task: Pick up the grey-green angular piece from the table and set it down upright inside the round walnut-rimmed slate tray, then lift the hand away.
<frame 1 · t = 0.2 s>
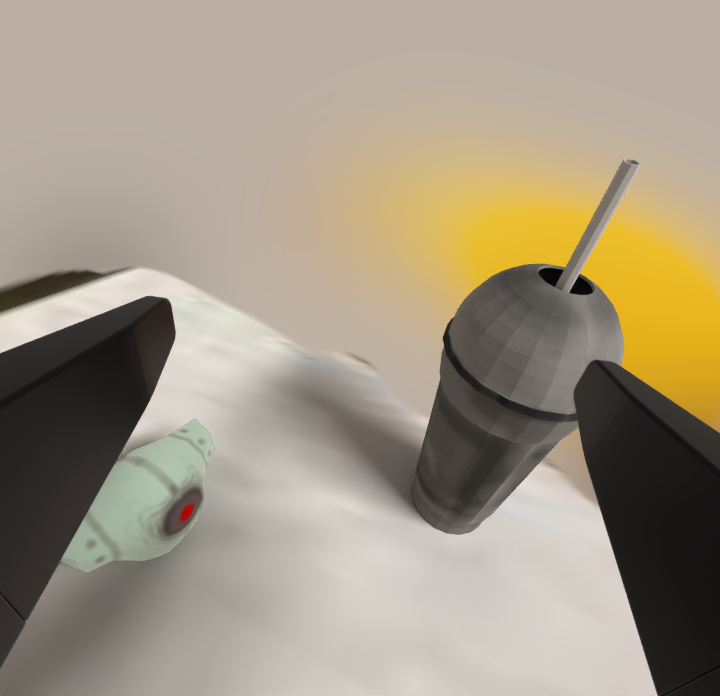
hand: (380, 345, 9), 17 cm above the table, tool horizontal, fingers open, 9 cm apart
grey-green angular piece: (165, 544, 22), on the table
beverage cup: (447, 500, 26), on the table
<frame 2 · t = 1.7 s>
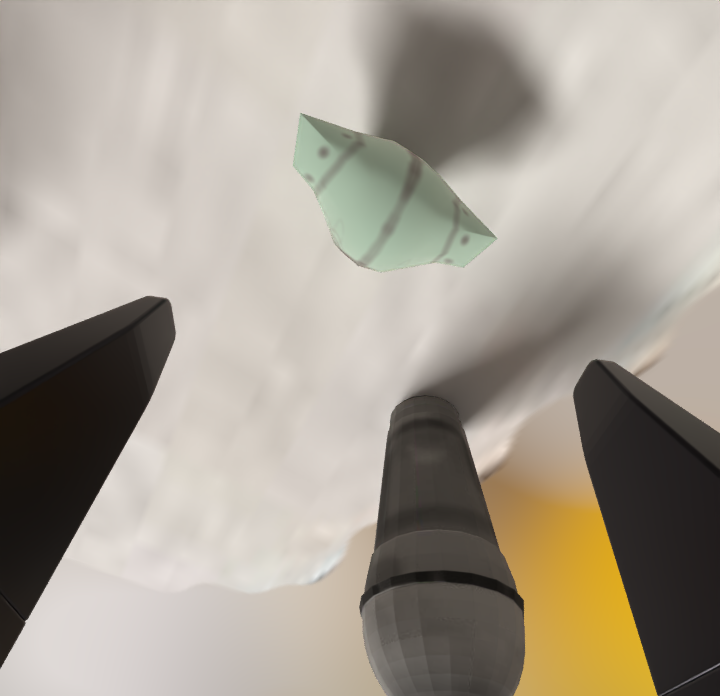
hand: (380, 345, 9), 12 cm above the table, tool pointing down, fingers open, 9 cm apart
grey-green angular piece: (386, 175, 19), on the table
beverage cup: (424, 418, 28), on the table
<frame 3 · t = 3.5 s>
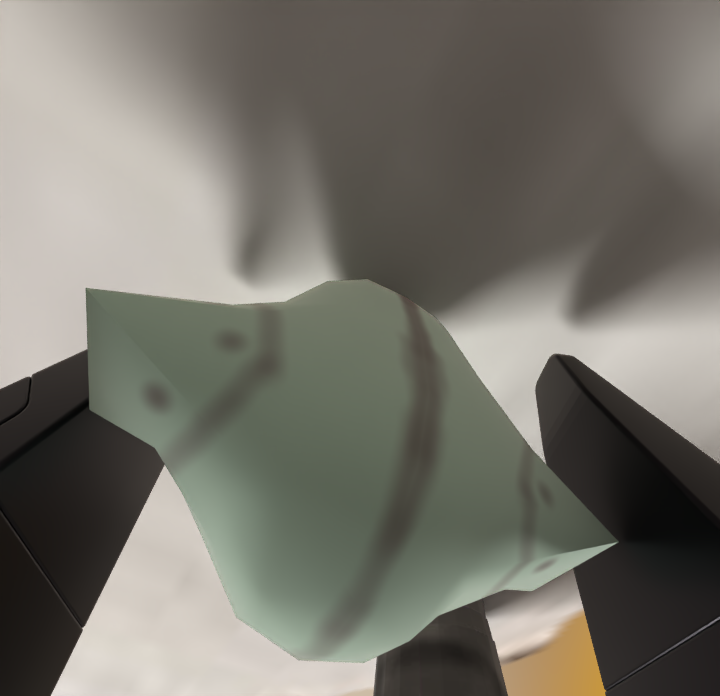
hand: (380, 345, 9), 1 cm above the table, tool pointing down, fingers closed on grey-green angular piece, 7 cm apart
grey-green angular piece: (370, 312, 10), on the table, touching gripper
beverage cup: (432, 602, 20), on the table
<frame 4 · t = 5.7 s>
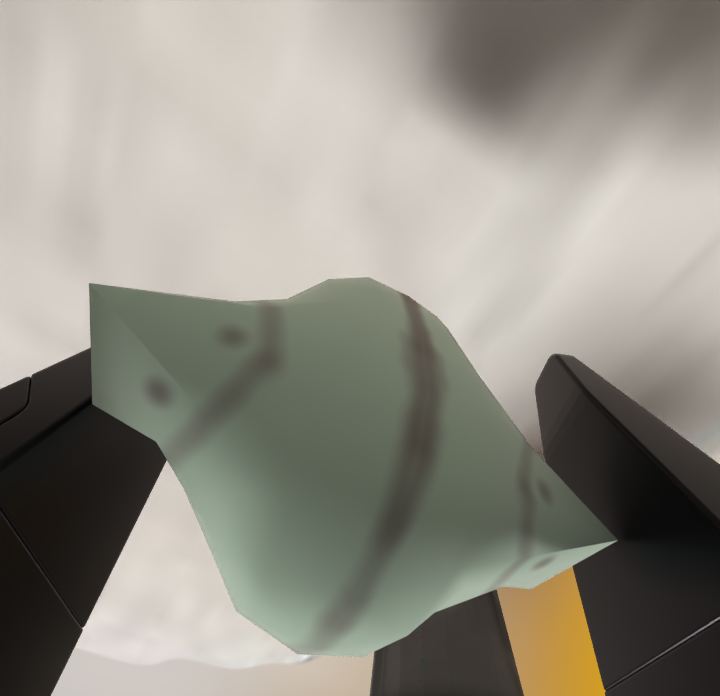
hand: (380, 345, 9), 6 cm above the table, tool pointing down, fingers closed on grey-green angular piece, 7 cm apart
grey-green angular piece: (371, 311, 10), point 4 cm above the table, touching gripper
beverage cup: (432, 514, 23), on the table
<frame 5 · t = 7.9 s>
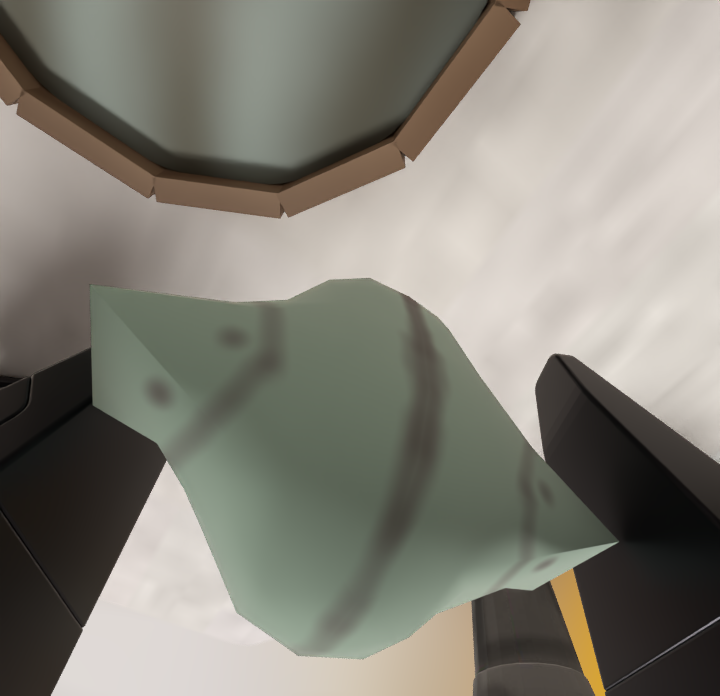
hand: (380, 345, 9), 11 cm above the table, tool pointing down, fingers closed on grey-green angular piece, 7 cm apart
grey-green angular piece: (372, 311, 10), point 10 cm above the table, touching gripper
beverage cup: (498, 528, 33), on the table
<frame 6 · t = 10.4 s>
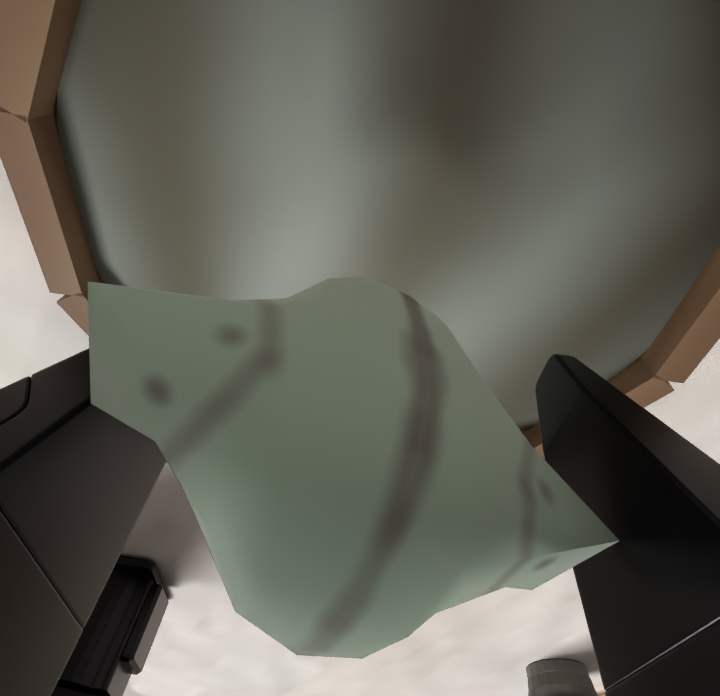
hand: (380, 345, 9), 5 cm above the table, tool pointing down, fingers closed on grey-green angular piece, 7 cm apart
round tray: (386, 244, 13), on the table
grey-green angular piece: (372, 310, 10), point 4 cm above the table, touching gripper
beverage cup: (555, 666, 34), on the table
when the fingers open (2 cm above the table, at t = 12.1 s): grey-green angular piece stays where it is, resting on round tray.
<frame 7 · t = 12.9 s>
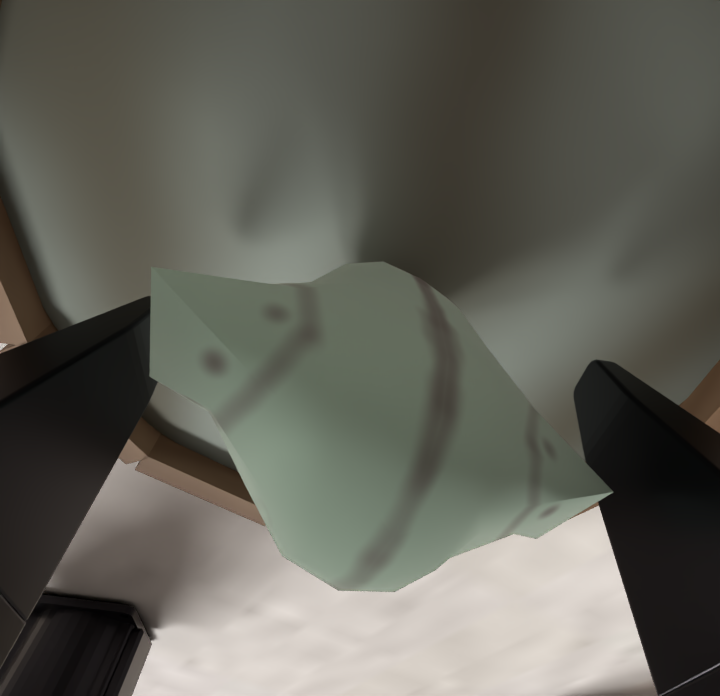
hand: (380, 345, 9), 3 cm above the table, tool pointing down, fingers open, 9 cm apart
round tray: (383, 285, 11), on the table
grey-green angular piece: (381, 294, 11), resting on round tray
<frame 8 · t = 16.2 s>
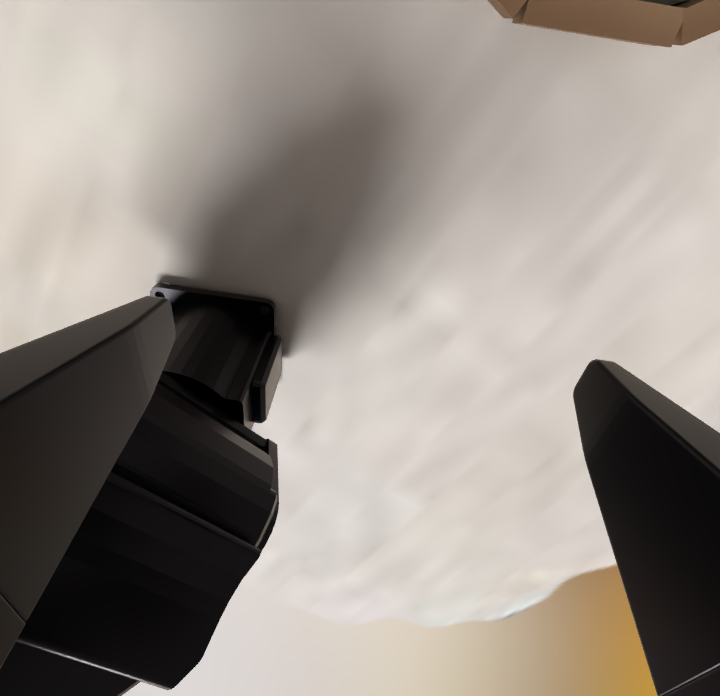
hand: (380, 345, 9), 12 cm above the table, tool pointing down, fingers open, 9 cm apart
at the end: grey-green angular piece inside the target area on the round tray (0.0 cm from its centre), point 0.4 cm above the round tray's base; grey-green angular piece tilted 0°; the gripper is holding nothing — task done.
